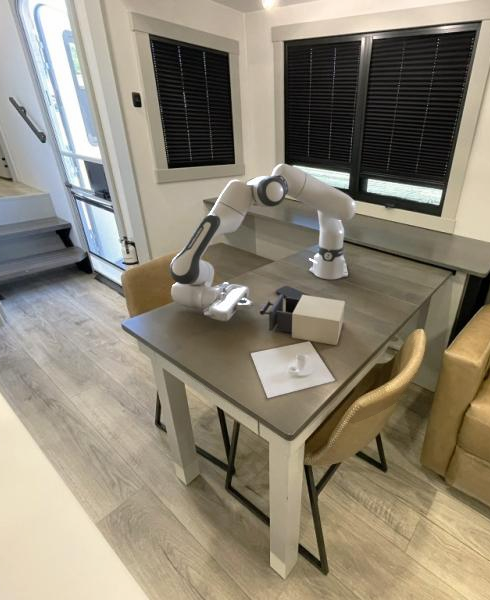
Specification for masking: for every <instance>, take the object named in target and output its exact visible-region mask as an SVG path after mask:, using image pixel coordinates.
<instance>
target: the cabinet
mask: <svg viewBox="0 0 490 600" xmlns="http://www.w3.org/2000/svg"><path fill="white" fill-rule="evenodd" d="M345 306H346V301H345V300H338V299H332V298H325V297H319V296H313V295H310V296H307V295H302V297H301V299H300V300H299V302H298V304H297V306H296V308H295V310H294V312H293V314H292V332H291V338H292V339H298V340H303V341H310V342H314V343H321V344H327V345H333V346H338V342H339V338H340V335H341V331H342V327H343V322H344V315H345Z"/></svg>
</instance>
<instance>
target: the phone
mask: <svg viewBox="0 0 490 600" xmlns="http://www.w3.org/2000/svg"><path fill="white" fill-rule="evenodd" d="M275 294H277V295H280V294H281V295H283V298H286V297H291V298H298V299H301V297H302V295H307V296H311V295H310V294H308V293H306V292H303V291H301V290H298V289H296V288H294V287H292V286H289V285H284V286H282V287H279V288H277V289H276V290H275Z"/></svg>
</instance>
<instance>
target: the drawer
mask: <svg viewBox="0 0 490 600" xmlns="http://www.w3.org/2000/svg"><path fill="white" fill-rule="evenodd" d="M299 300H300V299H298V298H291V297H285V307H284V296H283V295H281V294H278V297H277V299H276V300H274V301H275V302H273V303H271V301H268V300H267V301H266V302H265V304H264V305H263V306H262V308H261V309H260V311H259V314H260V315H261V316H264V315H268V330H269V331H271V332H273V331H274V329H275V327H276V331H281V332H287V333H288V332H289V333H292V314H293V312H294V310H295V308H296V306H297V304H298V302H299ZM270 306H271V308H270ZM284 308H285V309H284ZM268 309H269V311H268ZM284 310H285V311H284Z"/></svg>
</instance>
